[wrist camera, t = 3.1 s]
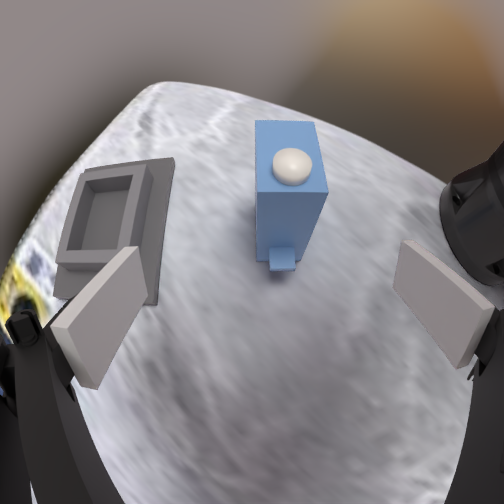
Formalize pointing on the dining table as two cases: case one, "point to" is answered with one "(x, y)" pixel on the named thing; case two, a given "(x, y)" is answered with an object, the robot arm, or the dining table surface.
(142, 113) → the dining table surface
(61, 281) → the chassis
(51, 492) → the robot arm
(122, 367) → the dining table surface
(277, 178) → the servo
